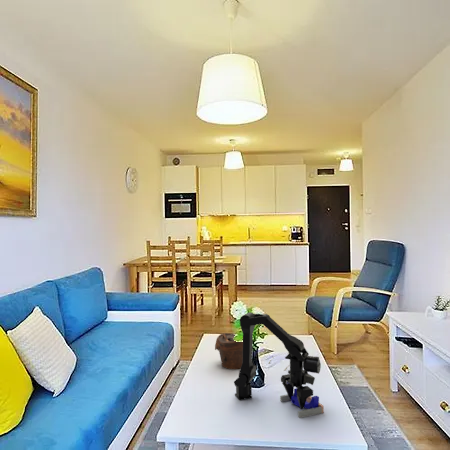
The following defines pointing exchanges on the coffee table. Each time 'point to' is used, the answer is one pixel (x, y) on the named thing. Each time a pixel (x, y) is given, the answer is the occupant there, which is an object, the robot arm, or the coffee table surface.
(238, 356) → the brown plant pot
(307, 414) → the frame
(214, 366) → the coffee table surface
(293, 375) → the robot arm
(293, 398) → the cable clip
